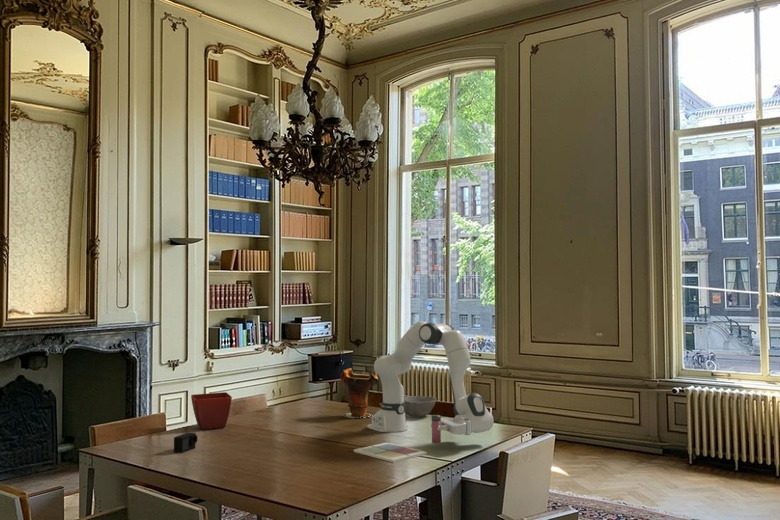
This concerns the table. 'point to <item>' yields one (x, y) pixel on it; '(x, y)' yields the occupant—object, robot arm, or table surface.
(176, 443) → the digital camera
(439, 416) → the marker
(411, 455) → the picture board
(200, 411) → the plant pot
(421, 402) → the ceramic bowl
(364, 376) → the decorative vase
